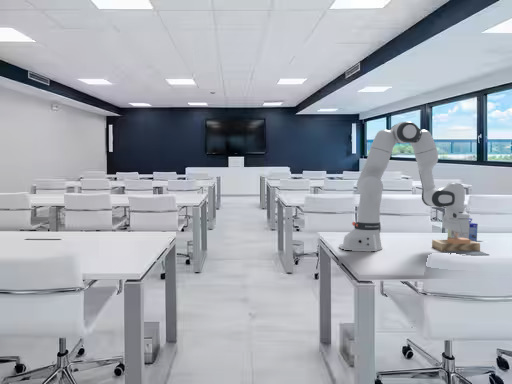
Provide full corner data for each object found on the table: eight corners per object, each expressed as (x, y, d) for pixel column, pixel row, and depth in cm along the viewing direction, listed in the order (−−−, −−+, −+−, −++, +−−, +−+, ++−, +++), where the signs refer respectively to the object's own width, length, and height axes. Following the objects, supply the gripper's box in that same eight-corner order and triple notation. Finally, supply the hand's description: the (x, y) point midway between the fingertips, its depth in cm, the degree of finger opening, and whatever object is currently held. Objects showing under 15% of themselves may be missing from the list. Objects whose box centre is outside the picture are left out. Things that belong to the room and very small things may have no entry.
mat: (453, 255, 205) (453, 255, 205) (443, 251, 215) (443, 250, 215) (489, 255, 206) (489, 254, 206) (477, 250, 216) (478, 250, 216)
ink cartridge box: (477, 245, 229) (478, 219, 228) (468, 246, 228) (469, 219, 227) (465, 242, 239) (465, 217, 238) (456, 242, 238) (457, 217, 237)
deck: (441, 251, 215) (441, 243, 215) (432, 247, 226) (432, 239, 226) (479, 250, 216) (480, 243, 215) (468, 246, 227) (468, 239, 226)
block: (453, 243, 214) (453, 239, 214) (447, 241, 220) (447, 237, 220) (470, 243, 215) (470, 239, 214) (464, 241, 221) (464, 237, 220)
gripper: (439, 211, 231) (439, 235, 232) (459, 215, 211) (458, 242, 212) (451, 211, 231) (450, 235, 232) (471, 215, 211) (470, 242, 212)
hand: (454, 239), depth 222 cm, fingers closed
